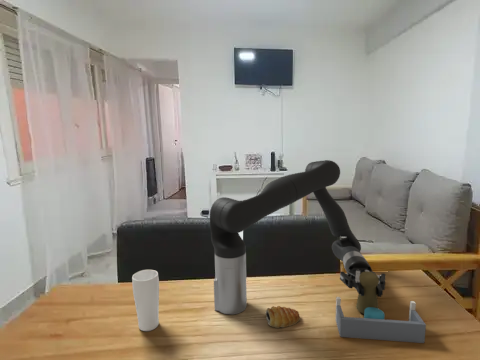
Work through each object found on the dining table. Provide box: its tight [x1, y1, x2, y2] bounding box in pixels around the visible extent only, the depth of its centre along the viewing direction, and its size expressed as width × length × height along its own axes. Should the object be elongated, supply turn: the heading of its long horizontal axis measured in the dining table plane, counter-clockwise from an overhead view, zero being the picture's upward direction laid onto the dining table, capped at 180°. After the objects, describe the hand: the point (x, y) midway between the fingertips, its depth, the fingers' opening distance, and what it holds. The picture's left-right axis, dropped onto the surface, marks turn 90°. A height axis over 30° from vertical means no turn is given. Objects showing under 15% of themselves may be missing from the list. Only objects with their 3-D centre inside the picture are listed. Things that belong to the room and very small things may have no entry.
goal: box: [335, 296, 427, 344], centre depth 78 cm, size 20×7×7 cm, turn 82°
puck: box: [363, 307, 386, 319], centre depth 82 cm, size 5×5×3 cm
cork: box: [355, 271, 379, 315], centre depth 87 cm, size 6×6×11 cm
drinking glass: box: [131, 269, 160, 332], centre depth 81 cm, size 7×7×15 cm
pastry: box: [265, 305, 301, 329], centre depth 84 cm, size 9×7×4 cm
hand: (371, 293), depth 84 cm, fingers closed on cork, 4 cm apart
